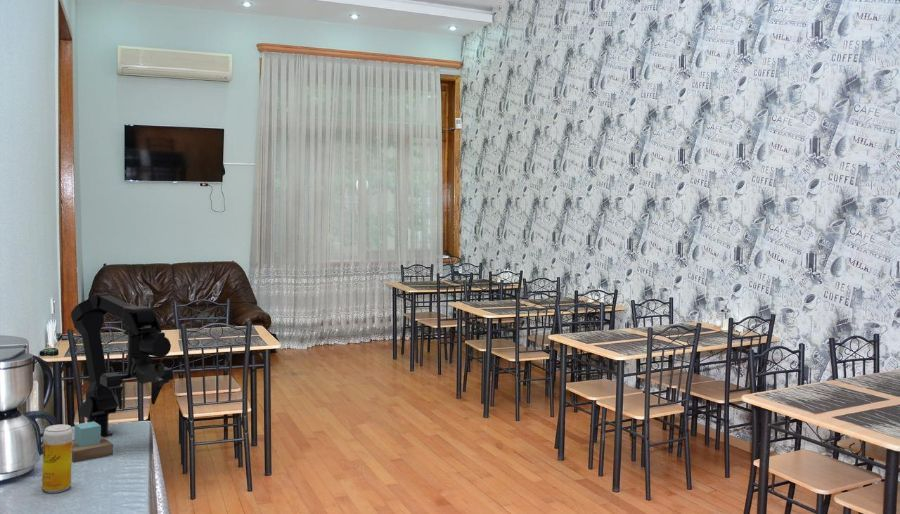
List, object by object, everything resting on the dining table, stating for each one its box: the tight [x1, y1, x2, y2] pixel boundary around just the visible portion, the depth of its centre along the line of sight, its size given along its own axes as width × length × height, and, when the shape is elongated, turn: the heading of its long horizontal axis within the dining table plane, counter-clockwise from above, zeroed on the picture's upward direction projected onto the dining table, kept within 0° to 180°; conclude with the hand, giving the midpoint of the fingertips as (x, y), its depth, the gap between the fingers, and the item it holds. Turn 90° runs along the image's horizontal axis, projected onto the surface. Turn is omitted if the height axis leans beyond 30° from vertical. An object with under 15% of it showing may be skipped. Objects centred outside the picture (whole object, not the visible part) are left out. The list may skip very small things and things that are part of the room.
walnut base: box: [72, 436, 114, 463], centre depth 195 cm, size 10×10×3 cm
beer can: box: [41, 424, 74, 494], centre depth 170 cm, size 6×6×15 cm
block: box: [74, 421, 101, 447], centre depth 195 cm, size 5×5×5 cm
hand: (136, 406), depth 201 cm, fingers open, 9 cm apart
